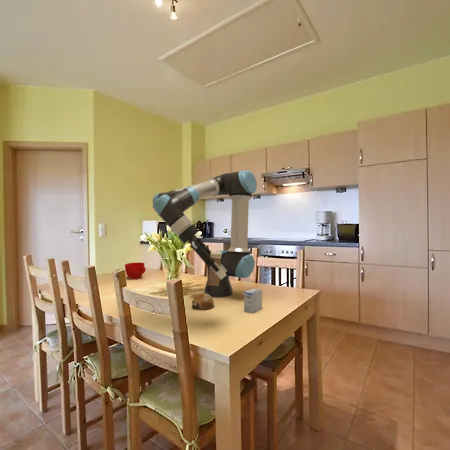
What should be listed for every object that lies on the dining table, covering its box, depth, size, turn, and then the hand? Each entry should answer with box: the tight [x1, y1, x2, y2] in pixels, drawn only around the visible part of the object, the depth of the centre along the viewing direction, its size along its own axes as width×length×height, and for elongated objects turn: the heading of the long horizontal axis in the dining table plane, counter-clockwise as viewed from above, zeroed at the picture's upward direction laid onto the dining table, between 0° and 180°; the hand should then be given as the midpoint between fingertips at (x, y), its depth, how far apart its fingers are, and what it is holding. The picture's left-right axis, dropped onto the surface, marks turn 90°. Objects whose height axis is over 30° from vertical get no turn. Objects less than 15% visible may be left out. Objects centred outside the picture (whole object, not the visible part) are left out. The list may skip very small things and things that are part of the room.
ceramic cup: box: [124, 262, 147, 280], centre depth 188 cm, size 13×17×10 cm
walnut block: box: [208, 250, 222, 286], centre depth 105 cm, size 6×4×12 cm, turn 179°
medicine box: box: [243, 288, 263, 314], centre depth 119 cm, size 8×4×9 cm, turn 141°
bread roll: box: [191, 292, 215, 311], centre depth 125 cm, size 10×10×8 cm
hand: (223, 274), depth 105 cm, fingers closed on walnut block, 6 cm apart
